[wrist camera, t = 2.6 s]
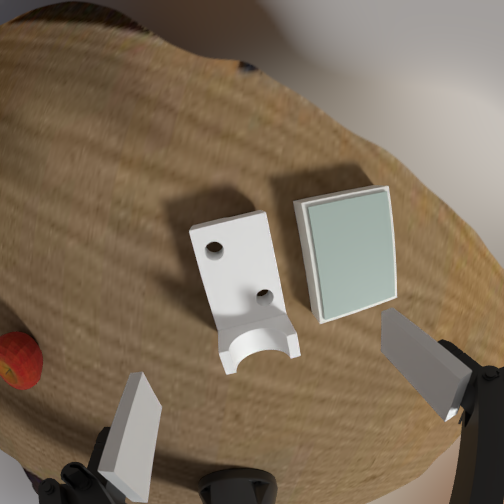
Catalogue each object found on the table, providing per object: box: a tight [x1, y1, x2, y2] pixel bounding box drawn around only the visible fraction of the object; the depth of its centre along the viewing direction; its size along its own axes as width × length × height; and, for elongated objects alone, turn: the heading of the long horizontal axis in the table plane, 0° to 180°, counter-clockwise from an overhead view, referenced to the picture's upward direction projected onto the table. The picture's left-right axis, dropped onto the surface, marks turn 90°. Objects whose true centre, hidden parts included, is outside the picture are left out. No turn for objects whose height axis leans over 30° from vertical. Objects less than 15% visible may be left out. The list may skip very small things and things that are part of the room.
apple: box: [0, 331, 43, 390], centre depth 25 cm, size 8×8×8 cm
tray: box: [293, 185, 397, 324], centre depth 29 cm, size 10×13×3 cm
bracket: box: [189, 210, 301, 375], centre depth 26 cm, size 13×7×8 cm, turn 11°
